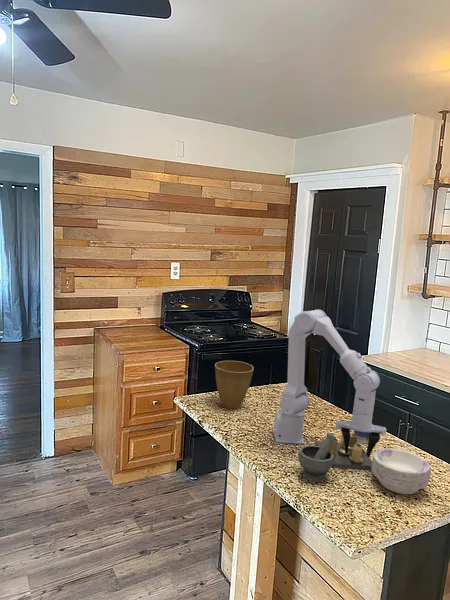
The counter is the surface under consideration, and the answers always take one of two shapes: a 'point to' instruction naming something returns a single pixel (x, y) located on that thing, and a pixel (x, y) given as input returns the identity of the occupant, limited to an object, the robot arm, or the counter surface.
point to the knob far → (351, 442)
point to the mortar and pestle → (317, 459)
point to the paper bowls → (400, 470)
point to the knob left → (334, 445)
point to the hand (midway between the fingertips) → (357, 453)
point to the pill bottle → (362, 436)
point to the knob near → (357, 454)
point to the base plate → (343, 459)
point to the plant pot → (233, 382)
